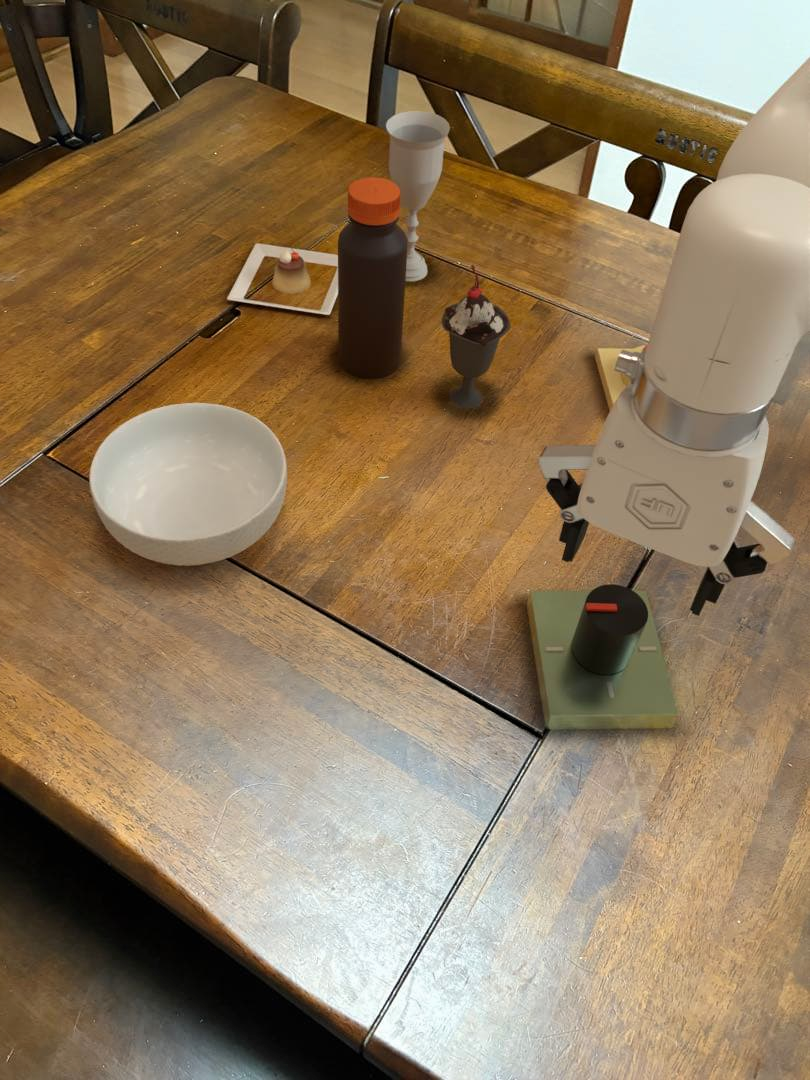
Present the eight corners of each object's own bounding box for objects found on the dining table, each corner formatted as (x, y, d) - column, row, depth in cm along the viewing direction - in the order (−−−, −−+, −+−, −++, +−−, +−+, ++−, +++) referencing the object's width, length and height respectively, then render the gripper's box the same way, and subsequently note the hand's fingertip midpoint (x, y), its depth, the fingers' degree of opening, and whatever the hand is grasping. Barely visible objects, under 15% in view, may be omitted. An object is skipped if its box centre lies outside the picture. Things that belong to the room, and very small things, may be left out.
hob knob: (626, 625, 75) (643, 582, 71) (635, 675, 72) (654, 634, 68) (568, 623, 75) (582, 580, 71) (575, 673, 72) (590, 631, 68)
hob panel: (638, 607, 80) (646, 589, 78) (670, 731, 72) (679, 714, 70) (525, 607, 79) (530, 589, 77) (544, 732, 71) (550, 715, 69)
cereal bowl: (297, 583, 79) (294, 530, 74) (100, 603, 77) (81, 549, 72) (282, 448, 90) (278, 393, 85) (108, 461, 88) (93, 405, 82)
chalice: (426, 296, 108) (438, 148, 94) (372, 283, 109) (376, 134, 95) (444, 264, 112) (458, 118, 99) (392, 251, 114) (399, 106, 100)
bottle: (380, 390, 97) (387, 217, 81) (326, 368, 98) (323, 195, 83) (411, 356, 100) (424, 185, 85) (359, 335, 102) (361, 164, 87)
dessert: (352, 265, 111) (352, 229, 108) (329, 323, 104) (329, 286, 100) (256, 250, 112) (253, 215, 109) (227, 307, 104) (223, 271, 101)
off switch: (681, 361, 102) (690, 336, 100) (704, 422, 96) (714, 396, 93) (593, 360, 102) (600, 334, 99) (610, 421, 95) (618, 395, 93)
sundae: (456, 371, 99) (470, 248, 88) (508, 397, 97) (530, 274, 86) (421, 403, 96) (432, 279, 84) (475, 430, 93) (493, 307, 82)
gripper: (539, 383, 54) (505, 563, 67) (839, 489, 49) (738, 661, 62) (584, 315, 58) (544, 497, 71) (863, 407, 53) (765, 584, 66)
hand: (635, 573), depth 66 cm, fingers open, 9 cm apart
